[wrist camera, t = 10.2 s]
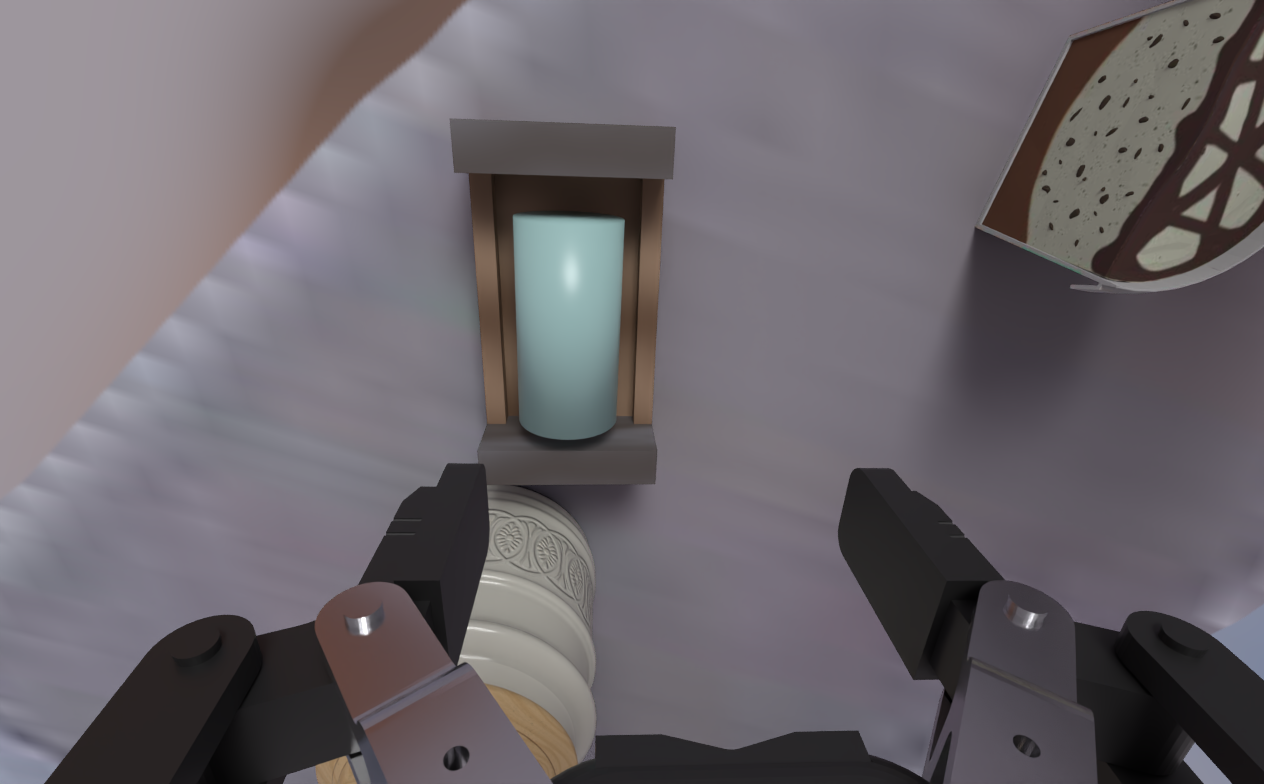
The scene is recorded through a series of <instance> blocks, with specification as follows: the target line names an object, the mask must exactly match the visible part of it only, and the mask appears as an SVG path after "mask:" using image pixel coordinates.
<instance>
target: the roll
mask: <svg viewBox="0 0 1264 784" xmlns="http://www.w3.org/2000/svg"><path fill="white" fill-rule="evenodd" d="M624 226H625V220H624V219H623V218H621V217H618V216H614V215H608V214H601V213H593V212H580V211H529V212H521V213H517V214H514V215H513V237H514V268H515V300H516V332H517V364H518V395H519V421H520V423H521V425H522V426H523V427H524V428H525V429H526V430H528V431H529V432H531V433H533V434H536V435H538V436H542V437H546V438H551V439H560V440H576V439H584V438H590V437H594V436H597V435H600V434H602V433H604V432H606V431H608V430H609V429H611V428H612V427H613V426H614V424H615V422H616V414H617V391H618V367H619V344H620V320H621V296H622V273H623V249H624Z"/></svg>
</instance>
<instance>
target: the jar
mask: <svg viewBox="0 0 1264 784" xmlns="http://www.w3.org/2000/svg"><path fill="white" fill-rule="evenodd" d="M487 493H488V507H489V521H490V537H489V547H488V553H487V557H486V560H485V564H484V568H483V572H482V575H481V579H480V583H479V587H478V590H477V594H476V598H475V601H474V605H473V609H472V613H471V616H470V620H469V624H468V628H467V631H466V635H465V639H464V643H463V646H462V650H461V654H460V658H459V661H458V665H460V664H461V663H463V662H466V663H468V664H470V665H471V666H472V667H473V668H474V670H475V671H476V672H477V674H478V675H479V677H480V678H481V680H482V681H483V683H484V684H485V685H486V687H487V688H488V690H489V691H490V693H491V694H492V696H493V697H494V699H495V700H496V701H497V703H498V704H499V706H500V707H501V709H502V710H503V712H504V713H505V715H506V716H507V717H508V719H509V720H510V722H511V723H512V725H513V726H514V728H515V729H516V731H517V732H518V734H519V735H520V736H521V738H522V739H523V741H524V742H525V744H526V745H527V747H528V748H529V750H530V751H531V752H532V754H533V755H534V757H535V758H536V760H537V761H538V763H539V764H540V766H541V767H542V768H543V770H544V771H545V773H546V774H547V776H548V777H549V779H551V778H553V777H555V776H556V775H558V774H560V773H561V772H563V771H565V770H566V769H568V768H571V767H573V766H575V765H577V764H580V763H582V761H583V760H584V758H585V757H586V755H587V753H588V751H589V749H590V747H591V745H592V742H593V739H594V736H595V731H596V724H597V715H596V706H595V702H594V698H593V695H592V692H591V688H592V685H593V682H594V678H595V672H596V654H595V648H594V644H593V601H594V596H595V588H596V581H595V565H594V560H593V557H592V553H591V551H590V548H589V545H588V541H587V539H586V537H585V534H584V533H583V531H582V529H581V527H580V526H579V524H578V523H577V522H576V521H575V519H574V518H573V517H572V516H571V515H570V514H569V513H568V512H567V511H566V510H565V509H563V508H562V507H561V506H560V505H558V504H557V503H555V502H554V501H552V500H550V499H549V498H547V497H545V496H543V495H541V494H539V493H536V492H534V491H531V490H528V489H525V488H521V487H516V486H511V485H487ZM458 665H457V666H458ZM316 775H317V780H318V784H357V782H356V780H355V777H354V775H353V772H352V770H351V767H350V765H349V762H348V760H347V757H346V756H343V757H340V758H337V759H334V760H331V761H328V762H325V763H321V764H318V765H316Z"/></svg>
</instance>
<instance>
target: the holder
mask: <svg viewBox="0 0 1264 784" xmlns="http://www.w3.org/2000/svg"><path fill="white" fill-rule="evenodd" d="M450 128H451V140H452V152H453V164H454V173H469V183H470V197H471V210H472V224H473V237H474V251H475V264H476V278H477V291H478V305H479V318H480V332H481V345H482V359H483V372H484V386H485V399H486V413H487V426H486V429H485V432H484V434H483V437H482V440H481V443H480V445H479V448H478V451H477V452H478V464H484V466H485V470H486V480H487V485H603V484H655V480H656V462H657V447H656V443H655V438H654V433H653V428H652V408H653V388H654V369H655V350H656V331H657V312H658V292H659V273H660V254H661V235H662V215H663V196H664V179H673V166H674V149H675V132H676V127H662V126H635V125H608V124H582V123H555V122H529V121H502V120H475V119H450ZM529 211H580V212H593V213H601V214H608V215H614V216H618V217H621V218H623V219H624V220H625V226H624V249H623V273H622V296H621V320H620V344H619V367H618V391H617V414H616V422H615V424H614V426H613V427H612V428H611V429H609V430H608V431H606V432H604V433H602V434H600V435H597V436H594V437H590V438H584V439H576V440H560V439H551V438H546V437H542V436H538V435H536V434H533V433H531V432H529V431H528V430H526V429H525V428H524V427H523V426H522V425H521V423H520V421H519V395H518V364H517V332H516V300H515V268H514V237H513V215H514V214H517V213H521V212H529Z"/></svg>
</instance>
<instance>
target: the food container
mask: <svg viewBox="0 0 1264 784" xmlns="http://www.w3.org/2000/svg"><path fill="white" fill-rule="evenodd" d="M975 227H976V228H978V229H980V230H983V231H985V232H987V233H989V234H991V235H994V236H996V237H998V238H1000V239H1003V240H1005V241H1007V242H1009V243H1012V244H1014V245H1016V246H1018V247H1021V248H1023V249H1025V250H1027V251H1030V252H1032V253H1034V254H1036V255H1039V256H1041V257H1043V258H1045V259H1047V260H1050V261H1052V262H1054V263H1056V264H1059V265H1061V266H1063V267H1065V268H1068V269H1070V270H1072V271H1074V272H1077V273H1079V274H1081V275H1083V276H1086V277H1088V278H1090V279H1092V280H1095V281H1097V282H1099V284H1098V286H1097V285H1071V286H1070V288H1071V289H1076V290H1081V291H1086V292H1099V293H1116V294H1144V293H1152V292H1160V291H1164V290H1171V289H1178V288H1181V287H1185V286H1188V285H1192V284H1196V283H1199V282H1202V281H1204V280H1207V279H1209V278H1211V277H1214V276H1216V275H1219V274H1221V273H1223V272H1225V271H1227V270H1228V269H1230V268H1232V267H1234V266H1236V265H1237V264H1239V263H1241V262H1243V261H1244V260H1246V259H1247V258H1249V257H1250V256H1252V255H1253V254H1255V253H1256V252H1257V251H1259V250H1260V249H1262V248H1263V247H1264V0H1173V1H1170V2H1167V3H1164V4H1161V5H1158V6H1155V7H1152V8H1149V9H1146V10H1143V11H1140V12H1137V13H1134V14H1131V15H1129V16H1126V17H1123V18H1120V19H1117V20H1114V21H1111V22H1108V23H1105V24H1102V25H1099V26H1096V27H1093V28H1090V29H1087V30H1085V31H1082V32H1079V33H1076V34H1073V35H1070V36H1069V38H1068V40H1067V42H1066V44H1065V46H1064V48H1063V50H1062V52H1061V54H1060V56H1059V58H1058V60H1057V62H1056V64H1055V66H1054V68H1053V70H1052V72H1051V74H1050V76H1049V78H1048V80H1047V82H1046V84H1045V86H1044V88H1043V91H1042V93H1041V95H1040V97H1039V99H1038V101H1037V103H1036V105H1035V107H1034V109H1033V111H1032V113H1031V115H1030V117H1029V119H1028V121H1027V123H1026V125H1025V127H1024V129H1023V131H1022V133H1021V135H1020V137H1019V139H1018V141H1017V143H1016V145H1015V147H1014V149H1013V151H1012V153H1011V155H1010V157H1009V159H1008V161H1007V163H1006V165H1005V167H1004V169H1003V171H1002V173H1001V175H1000V177H999V179H998V181H997V183H996V185H995V187H994V189H993V192H992V194H991V196H990V198H989V200H988V202H987V204H986V206H985V208H984V210H983V212H982V214H981V216H980V218H979V220H978V222H977V224H976V226H975Z"/></svg>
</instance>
